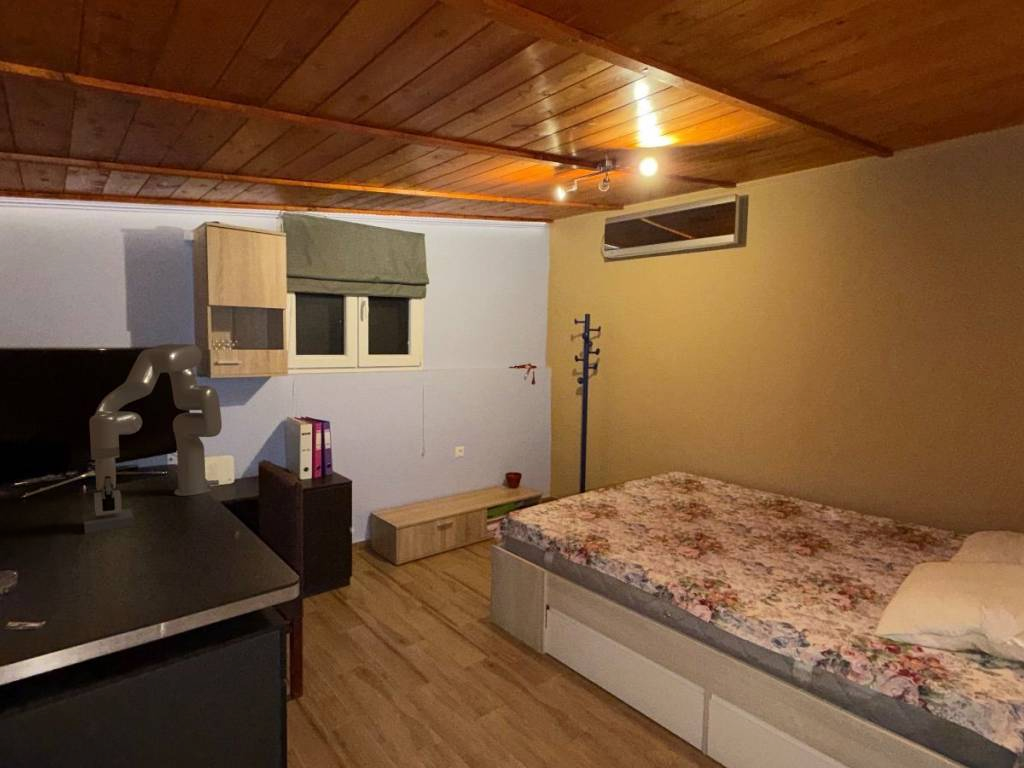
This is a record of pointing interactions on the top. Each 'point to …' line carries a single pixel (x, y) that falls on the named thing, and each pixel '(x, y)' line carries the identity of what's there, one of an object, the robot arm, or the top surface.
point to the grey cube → (99, 505)
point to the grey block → (108, 521)
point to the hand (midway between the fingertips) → (108, 507)
